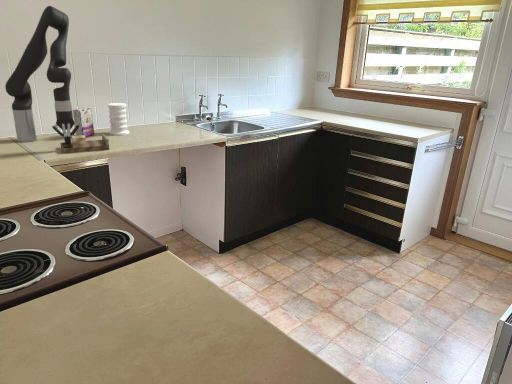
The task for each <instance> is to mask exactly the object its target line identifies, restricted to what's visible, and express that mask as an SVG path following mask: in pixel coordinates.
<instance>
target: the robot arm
mask: <svg viewBox="0 0 512 384" xmlns="http://www.w3.org/2000/svg"><path fill="white" fill-rule="evenodd" d="M69 24H70V19H69V15H68V14H66V13H65V12H63V11H61V10H60V9H58V8H56V7H54V6H52V5H48V6H46V7H45V8H44V10H43V12H42V13H41V16H40V17H39V21H38V22H37V26H36V28H35V31H34V32H33V34H32V37H31V39H30V40H29V42H28V44H27V45H26V48H25V49H24V50H23V54H22V56H21V57H20V59H19V60H18V61H19V62H18V63H17V65H16V68H15V69H14V70H13V72H12V74H11V75H10V76H9V78H8V79H7V80H6V82H5V87H4V88H5V91H6V93H7V94H8V96H10V97H12V98H14V100H13V101H12V103H11V110H12V114H13V121H14V128H15V129H14V130H15V133H16V134H15V135H16V139H17V143H29V142H30V143H31V142H36V141H37V140H38V139H37V138H38V137H37V133H36V126H35V121H34V114H33V106H32V105H33V95H32V87H31V85H30V83H29V82H28V81H29V79H30V77H31V76H32V75H33V74H34V73H35V72H36V71H37V70H38V69H39V68H40V67H41V65H42V64H43V63H44V61H45V59H46V58H47V55H48V45H47V39H46V38H47V35H46V34H47V31H48V29H49V27H50V28H52V29H54V30H56V31H57V32H58V33H57V34H58V35H57V37H56V39H54V41H53V42H52V43H51V45H50V48H49V55H50V56H49V59H50V60H49V65H48V68H47V70H46V78H47V80H48V81H49V82H50V83H52V84H53V83H54V84H63V85H62V86H61V87H56V88H54V89H53V98H54V110H55V116H56V121H55V124H54V125H52V126H51V128H52V129H53V130H54V131H55V132H56V133H57V134H58V135H59V136H60V137H63V139H64V142H65V143H67V144H70V143H71V142H72V136H75V135H76V131H77V130H78V128H79V125H78V124H76V123H75V122H74V116H73V107H72V102H71V98H70V97H71V96H70V85H71V81H72V72H71V71H70V69H69V68H67V67H65V66H66V65H67V40H68V34H69V33H68V32H69V27H70V26H69ZM59 128H60V129H59ZM72 128H73V129H72ZM60 130H61V131H60ZM71 130H72V131H71Z"/></svg>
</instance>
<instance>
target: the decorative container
mask: <svg viewBox="0 0 512 384" xmlns="http://www.w3.org/2000/svg"><path fill="white" fill-rule="evenodd" d="M107 107H108V112H109V123H110V126H109V127H110V129H111V130H109V135H111V136H127V135H129V134H130V130H128V120H127V118H128V117H127V116H128V115H127V107H128V106H127V103H123V102H113V103H111V102H109V103H107Z"/></svg>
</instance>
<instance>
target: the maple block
mask: <svg viewBox="0 0 512 384" xmlns="http://www.w3.org/2000/svg"><path fill="white" fill-rule="evenodd" d="M86 141H87V138H86V137H85V136H84V135H79V136H76V135H72V136H71V142H73V145H74V146H81V145H86Z"/></svg>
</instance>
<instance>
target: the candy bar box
mask: <svg viewBox="0 0 512 384" xmlns="http://www.w3.org/2000/svg"><path fill="white" fill-rule="evenodd" d="M92 113H93V111H92V107H89V106H88V107H80V108H77V109H72V114H73V120H74V122H75V123H76V124H78V125H79V128H78V130H77V131H76V132H75V136H79V135H84V136H85V137H86V139H87V138H89V137H92V136H94V135H95V128H94V121H93V120H94V119H93V114H92Z"/></svg>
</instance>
